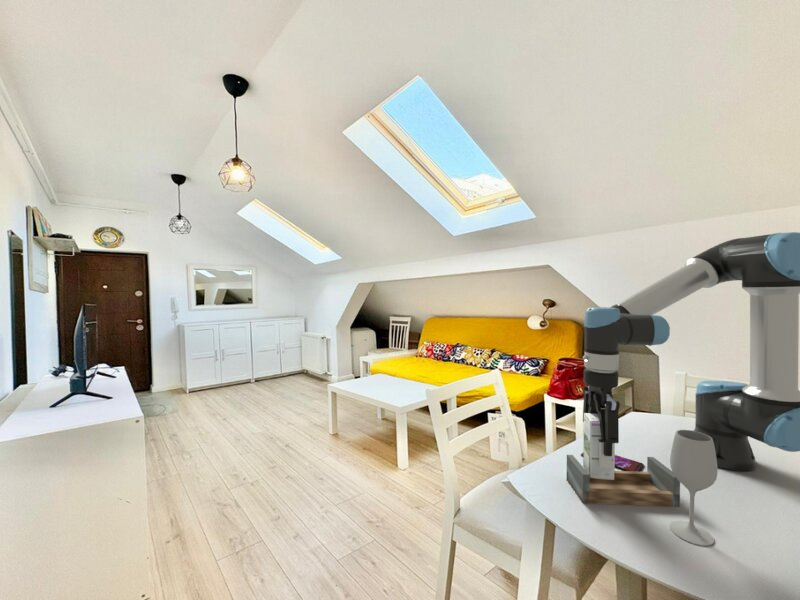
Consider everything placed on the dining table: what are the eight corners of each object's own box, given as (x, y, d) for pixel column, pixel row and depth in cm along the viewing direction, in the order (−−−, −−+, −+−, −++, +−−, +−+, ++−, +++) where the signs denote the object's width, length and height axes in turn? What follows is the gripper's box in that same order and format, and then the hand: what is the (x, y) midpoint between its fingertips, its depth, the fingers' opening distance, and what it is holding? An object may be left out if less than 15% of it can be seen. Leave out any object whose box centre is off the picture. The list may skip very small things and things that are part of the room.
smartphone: (589, 446, 114) (644, 463, 103) (589, 449, 114) (644, 466, 103) (579, 454, 109) (636, 473, 98) (579, 457, 109) (636, 476, 98)
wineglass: (659, 522, 78) (661, 428, 77) (691, 520, 79) (694, 427, 78) (690, 548, 71) (693, 444, 70) (725, 545, 71) (729, 442, 71)
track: (652, 483, 94) (653, 457, 94) (679, 506, 84) (680, 477, 84) (566, 480, 96) (566, 454, 95) (582, 503, 86) (583, 474, 85)
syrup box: (615, 480, 86) (616, 421, 86) (588, 478, 88) (590, 420, 87) (606, 468, 92) (607, 413, 91) (581, 466, 93) (583, 411, 93)
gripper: (570, 360, 98) (568, 443, 99) (603, 379, 79) (601, 480, 81) (598, 361, 98) (596, 443, 99) (639, 379, 79) (636, 481, 80)
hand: (598, 460), depth 90 cm, fingers closed on syrup box, 6 cm apart
